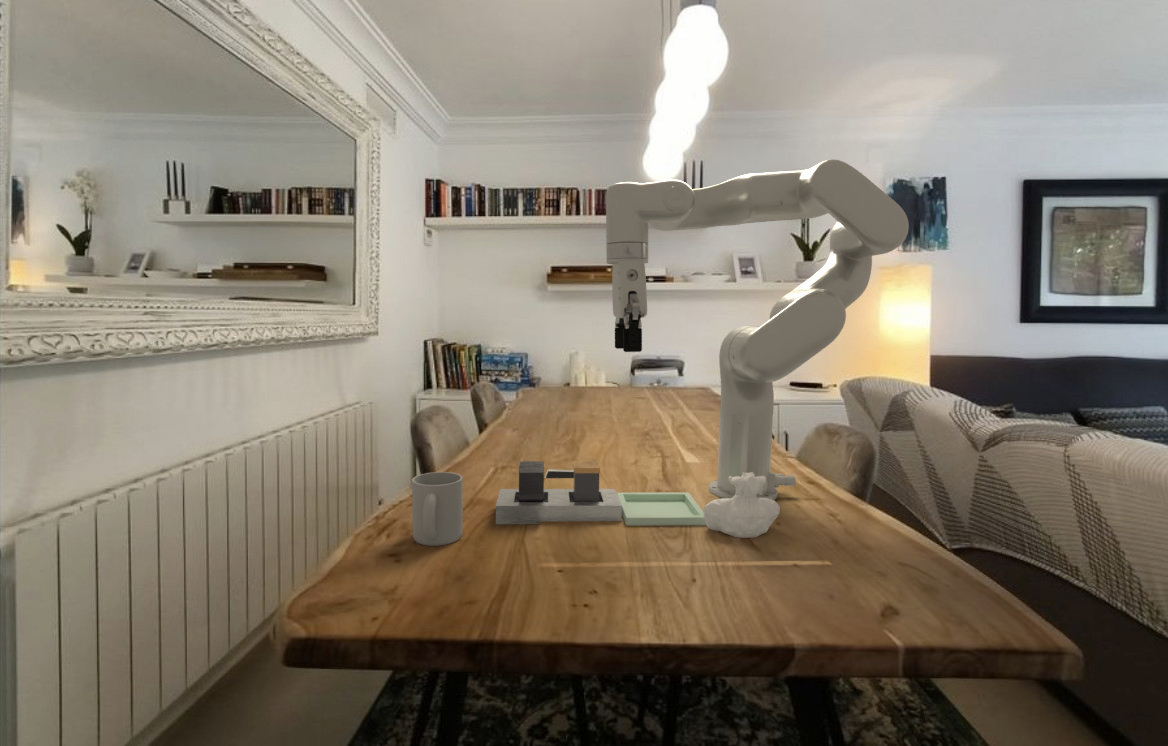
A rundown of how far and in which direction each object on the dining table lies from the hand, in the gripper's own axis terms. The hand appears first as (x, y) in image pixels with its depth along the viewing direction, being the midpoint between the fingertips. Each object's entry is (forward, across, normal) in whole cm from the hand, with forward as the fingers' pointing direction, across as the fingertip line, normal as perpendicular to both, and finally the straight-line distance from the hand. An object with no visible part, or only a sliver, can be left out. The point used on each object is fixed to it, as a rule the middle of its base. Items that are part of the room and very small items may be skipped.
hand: (627, 349), depth 108 cm
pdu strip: (+26, -11, +14) cm, 32 cm away
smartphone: (+27, +8, +12) cm, 31 cm away
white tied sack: (+28, -22, -14) cm, 38 cm away
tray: (+27, -12, -3) cm, 30 cm away
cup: (+26, -21, +32) cm, 47 cm away
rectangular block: (+26, -11, +9) cm, 30 cm away
